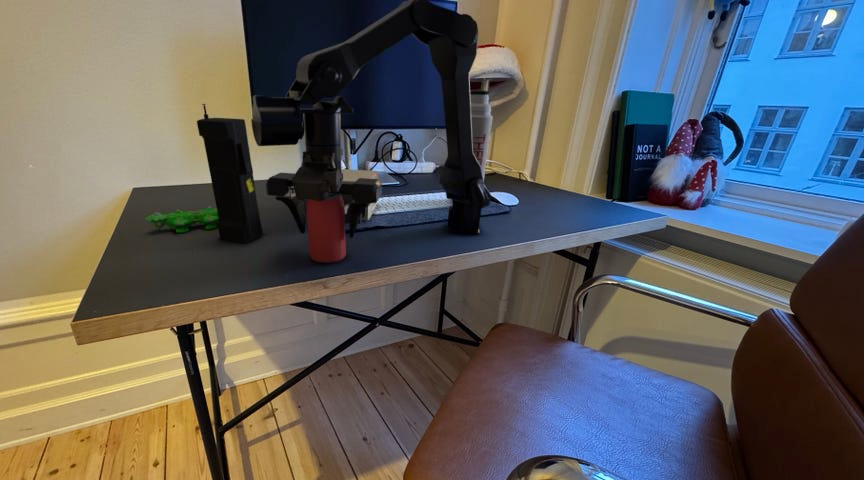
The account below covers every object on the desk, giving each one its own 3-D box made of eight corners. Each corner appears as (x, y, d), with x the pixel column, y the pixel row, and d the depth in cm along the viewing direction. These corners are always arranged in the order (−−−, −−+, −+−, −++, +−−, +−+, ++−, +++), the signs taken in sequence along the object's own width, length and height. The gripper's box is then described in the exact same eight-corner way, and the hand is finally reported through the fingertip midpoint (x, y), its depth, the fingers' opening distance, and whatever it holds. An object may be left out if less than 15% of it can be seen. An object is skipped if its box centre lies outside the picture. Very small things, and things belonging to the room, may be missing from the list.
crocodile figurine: (150, 227, 80) (145, 208, 78) (238, 217, 87) (235, 199, 85) (147, 238, 74) (141, 217, 72) (241, 226, 81) (238, 207, 79)
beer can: (343, 265, 65) (341, 198, 59) (306, 264, 65) (300, 197, 59) (348, 250, 70) (346, 188, 65) (314, 249, 71) (309, 187, 65)
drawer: (355, 230, 78) (355, 196, 74) (308, 227, 79) (306, 193, 76) (371, 209, 92) (371, 179, 88) (330, 206, 93) (329, 177, 90)
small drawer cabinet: (368, 220, 86) (367, 182, 82) (320, 217, 88) (318, 179, 84) (378, 205, 97) (378, 171, 93) (336, 202, 99) (334, 168, 95)
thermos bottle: (481, 207, 98) (498, 90, 85) (451, 205, 99) (463, 90, 86) (479, 199, 105) (494, 90, 92) (451, 197, 106) (462, 90, 93)
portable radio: (269, 234, 77) (252, 104, 66) (251, 244, 72) (229, 105, 61) (238, 229, 79) (216, 103, 68) (218, 239, 74) (191, 104, 63)
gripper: (243, 147, 53) (256, 247, 60) (369, 154, 50) (368, 258, 57) (276, 138, 63) (284, 225, 70) (383, 144, 60) (381, 233, 67)
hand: (326, 235), depth 66 cm, fingers open, 9 cm apart
